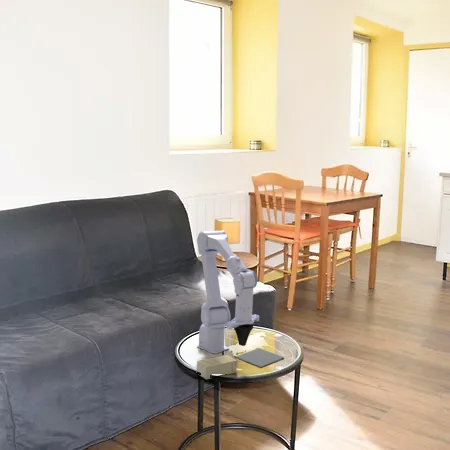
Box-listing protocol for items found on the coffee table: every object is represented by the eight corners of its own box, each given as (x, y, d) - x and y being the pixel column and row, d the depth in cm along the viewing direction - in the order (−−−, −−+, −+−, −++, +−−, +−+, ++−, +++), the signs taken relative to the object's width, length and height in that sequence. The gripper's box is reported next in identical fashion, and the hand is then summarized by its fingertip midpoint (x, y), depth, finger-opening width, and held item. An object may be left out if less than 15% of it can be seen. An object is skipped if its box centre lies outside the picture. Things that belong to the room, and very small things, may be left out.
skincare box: (237, 360, 192) (207, 367, 185) (236, 373, 192) (206, 380, 185) (226, 354, 197) (196, 360, 190) (226, 366, 197) (196, 373, 190)
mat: (235, 357, 205) (235, 356, 205) (258, 349, 214) (258, 348, 214) (260, 367, 197) (260, 366, 197) (284, 358, 206) (284, 357, 206)
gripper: (238, 313, 186) (236, 353, 188) (266, 305, 196) (264, 343, 198) (222, 308, 191) (221, 347, 193) (251, 300, 201) (249, 337, 203)
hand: (242, 344), depth 196 cm, fingers closed
